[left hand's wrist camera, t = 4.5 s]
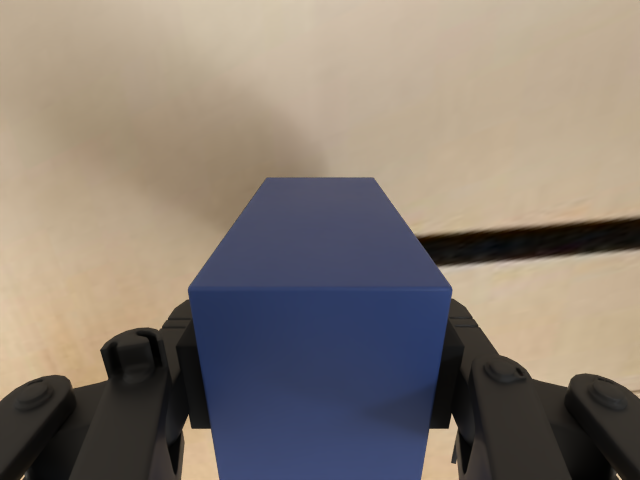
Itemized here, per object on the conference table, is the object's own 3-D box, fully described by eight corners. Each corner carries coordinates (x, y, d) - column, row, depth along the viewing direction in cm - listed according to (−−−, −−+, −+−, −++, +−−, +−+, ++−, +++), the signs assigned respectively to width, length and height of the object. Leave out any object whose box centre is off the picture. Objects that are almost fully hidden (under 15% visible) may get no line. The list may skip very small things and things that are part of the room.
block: (272, 291, 19) (221, 498, 9) (266, 177, 17) (185, 288, 7) (367, 291, 19) (418, 498, 9) (374, 177, 17) (454, 288, 7)
